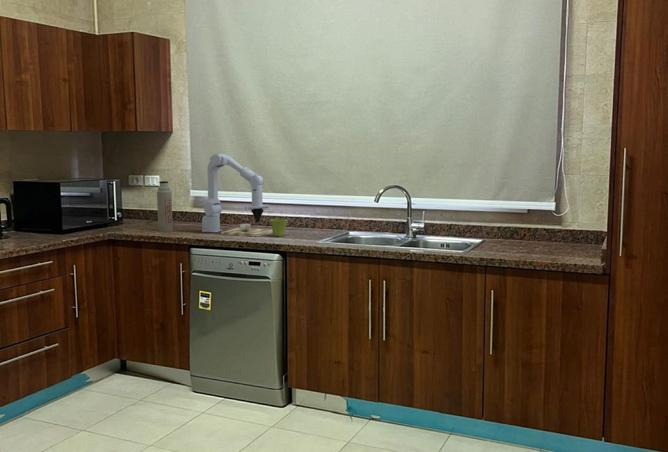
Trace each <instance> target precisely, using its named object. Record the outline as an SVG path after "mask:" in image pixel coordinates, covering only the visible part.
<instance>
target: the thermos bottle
mask: <svg viewBox="0 0 668 452" xmlns="http://www.w3.org/2000/svg"><path fill="white" fill-rule="evenodd" d="M158 183H159V186H158V187H157V191H156V201H157V202H156V203H157V205H156V206H157V230H158V232H171V231H173V230H174V228H173V226H174V225H173V202H172V201H173V200H172V199H173V198H172V191H171V187H170V186H169V181H167V180H164V181H158Z"/></svg>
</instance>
